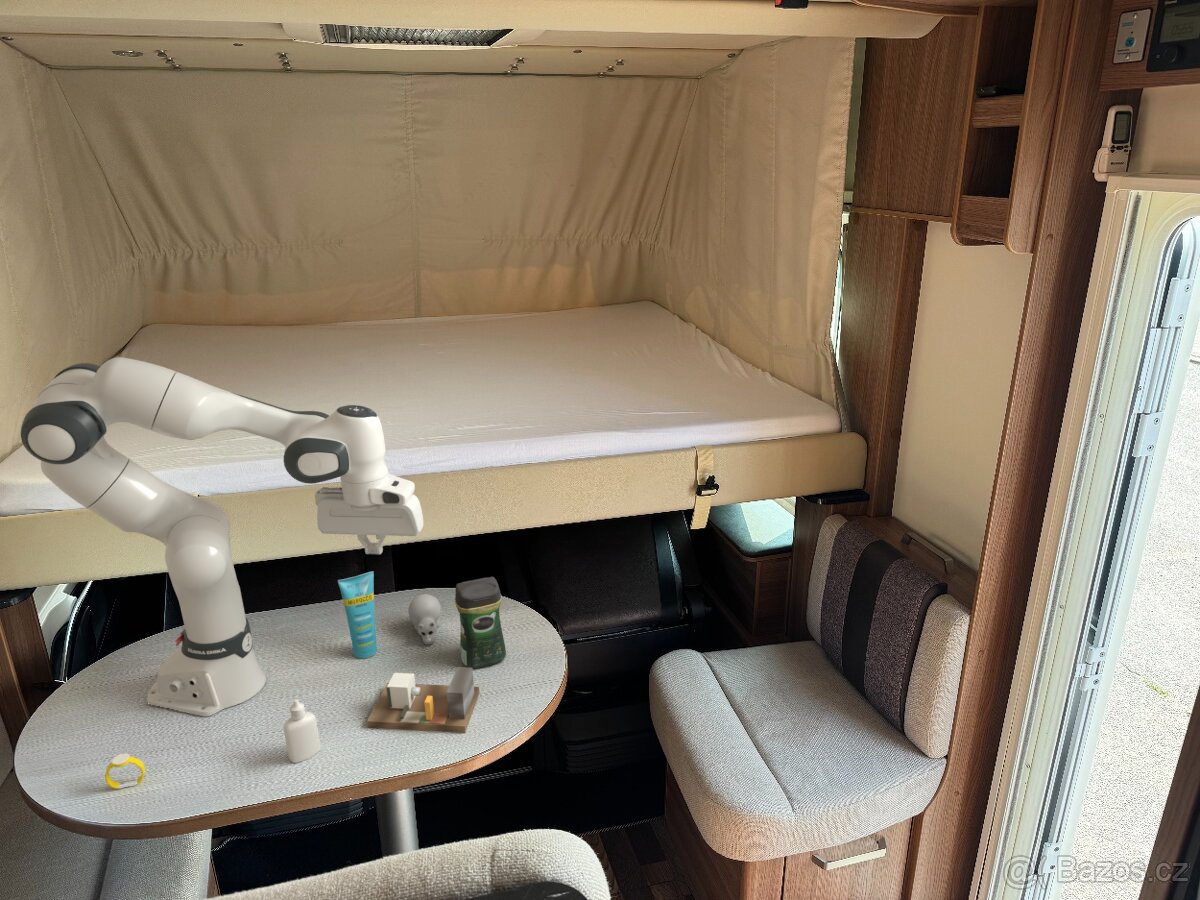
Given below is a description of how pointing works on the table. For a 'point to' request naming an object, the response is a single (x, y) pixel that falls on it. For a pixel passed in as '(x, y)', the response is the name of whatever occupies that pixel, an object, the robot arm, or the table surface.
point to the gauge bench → (448, 704)
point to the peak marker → (429, 707)
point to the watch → (122, 761)
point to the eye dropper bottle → (301, 734)
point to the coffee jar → (480, 622)
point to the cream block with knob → (402, 692)
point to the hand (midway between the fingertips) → (374, 552)
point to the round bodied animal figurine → (425, 616)
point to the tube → (360, 613)
